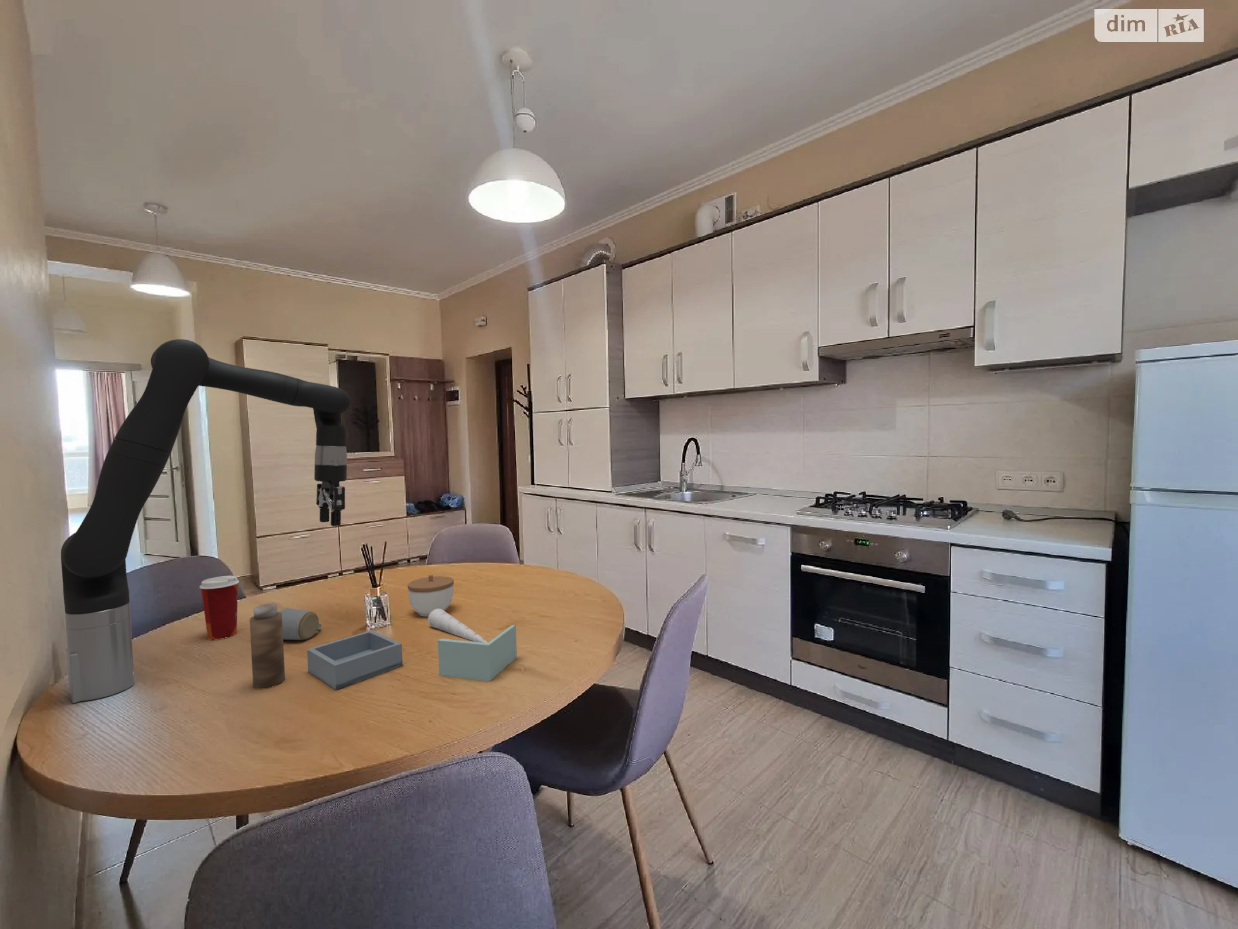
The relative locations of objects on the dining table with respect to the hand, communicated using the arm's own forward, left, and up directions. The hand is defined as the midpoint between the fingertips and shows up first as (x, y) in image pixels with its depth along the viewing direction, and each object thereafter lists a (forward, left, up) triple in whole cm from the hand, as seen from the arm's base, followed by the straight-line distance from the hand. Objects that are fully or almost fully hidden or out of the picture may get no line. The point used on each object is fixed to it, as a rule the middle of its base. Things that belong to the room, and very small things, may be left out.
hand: (329, 523), depth 137 cm
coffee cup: (-20, +19, -29) cm, 40 cm away
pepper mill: (-22, -23, -28) cm, 42 cm away
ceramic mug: (-8, +1, -29) cm, 30 cm away
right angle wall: (+9, -52, -29) cm, 60 cm away
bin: (-8, -31, -28) cm, 43 cm away
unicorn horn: (+18, -31, -29) cm, 46 cm away
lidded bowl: (+23, -10, -29) cm, 38 cm away
